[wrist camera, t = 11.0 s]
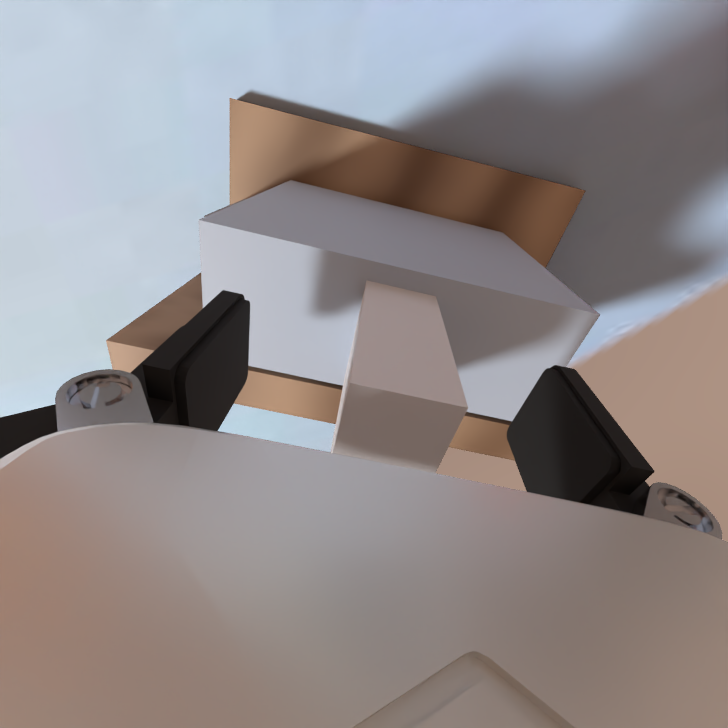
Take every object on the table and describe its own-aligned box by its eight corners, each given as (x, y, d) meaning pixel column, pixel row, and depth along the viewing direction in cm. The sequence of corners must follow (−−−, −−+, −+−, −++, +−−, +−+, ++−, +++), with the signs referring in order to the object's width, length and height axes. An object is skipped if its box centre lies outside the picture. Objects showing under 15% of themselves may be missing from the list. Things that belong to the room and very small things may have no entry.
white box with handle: (503, 232, 23) (747, 439, 7) (471, 307, 26) (596, 567, 10) (290, 180, 22) (44, 286, 6) (283, 263, 25) (104, 476, 9)
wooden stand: (578, 188, 22) (786, 245, 11) (504, 335, 28) (584, 474, 17) (236, 99, 21) (39, 51, 9) (234, 273, 27) (115, 379, 15)
